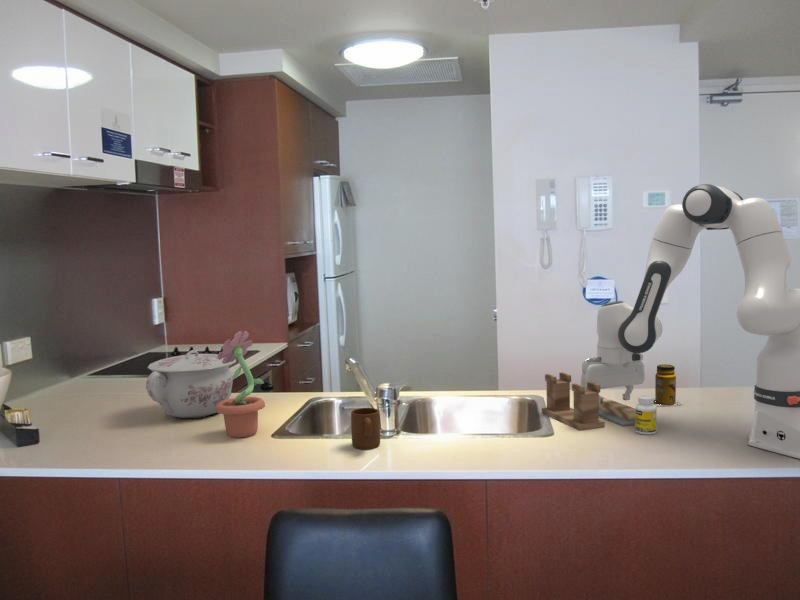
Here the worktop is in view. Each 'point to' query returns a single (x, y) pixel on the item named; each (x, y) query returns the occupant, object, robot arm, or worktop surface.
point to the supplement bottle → (645, 415)
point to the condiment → (665, 386)
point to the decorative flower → (240, 409)
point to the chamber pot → (190, 384)
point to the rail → (618, 409)
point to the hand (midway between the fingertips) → (612, 401)
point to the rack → (584, 402)
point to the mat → (615, 419)
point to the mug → (365, 428)
